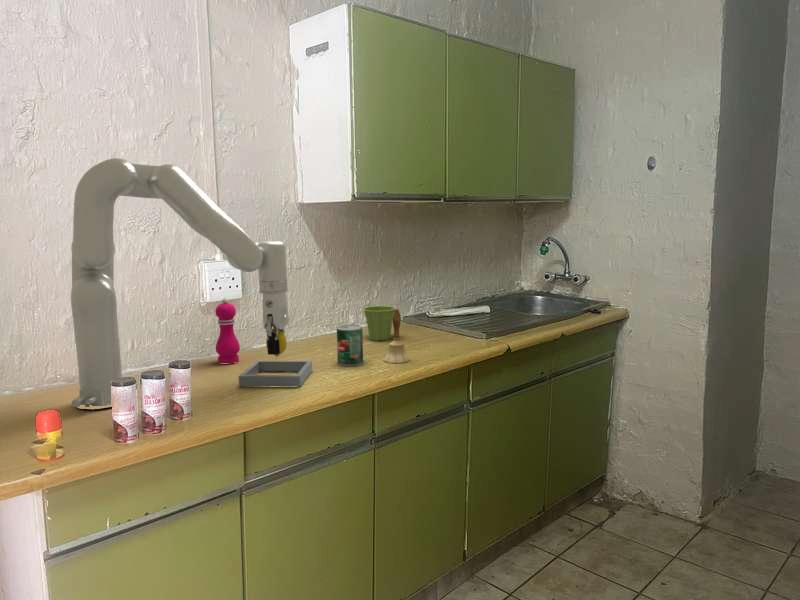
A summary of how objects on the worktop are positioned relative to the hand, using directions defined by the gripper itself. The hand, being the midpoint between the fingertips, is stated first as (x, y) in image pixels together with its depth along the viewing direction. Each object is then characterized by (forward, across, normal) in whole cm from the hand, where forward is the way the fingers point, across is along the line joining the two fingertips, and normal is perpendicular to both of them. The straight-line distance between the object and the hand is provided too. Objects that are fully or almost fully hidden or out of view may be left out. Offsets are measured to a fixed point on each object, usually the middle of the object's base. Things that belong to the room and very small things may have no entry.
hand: (276, 350), depth 170 cm
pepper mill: (+8, +18, +20) cm, 28 cm away
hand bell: (+8, +21, -32) cm, 39 cm away
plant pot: (+9, +51, -24) cm, 57 cm away
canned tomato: (+8, +18, -18) cm, 27 cm away
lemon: (+2, 0, 0) cm, 2 cm away
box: (+8, 0, 0) cm, 8 cm away
